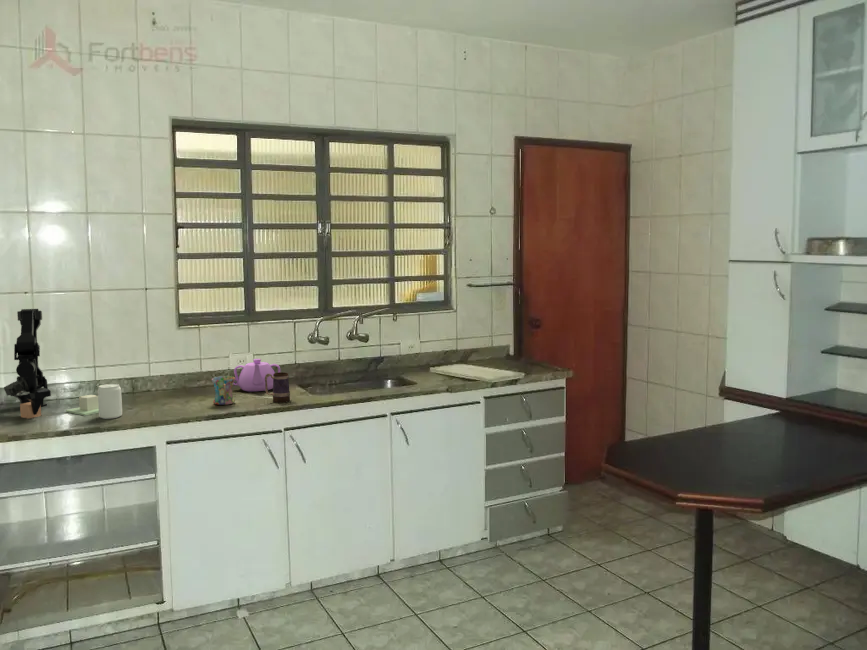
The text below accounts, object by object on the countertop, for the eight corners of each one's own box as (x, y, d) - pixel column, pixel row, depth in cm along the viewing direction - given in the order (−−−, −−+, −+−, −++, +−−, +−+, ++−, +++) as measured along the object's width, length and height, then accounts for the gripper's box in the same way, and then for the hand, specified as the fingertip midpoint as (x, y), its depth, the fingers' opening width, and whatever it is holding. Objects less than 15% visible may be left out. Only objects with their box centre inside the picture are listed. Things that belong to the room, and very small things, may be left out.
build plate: (66, 412, 285) (66, 410, 285) (94, 406, 295) (94, 404, 295) (85, 415, 279) (84, 413, 279) (113, 409, 289) (112, 407, 289)
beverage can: (113, 419, 272) (111, 388, 271) (94, 418, 274) (92, 387, 272) (126, 414, 280) (125, 384, 279) (108, 413, 282) (106, 383, 280)
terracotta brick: (20, 417, 277) (19, 404, 277) (33, 414, 282) (32, 401, 281) (28, 418, 275) (27, 405, 274) (41, 415, 279) (40, 403, 278)
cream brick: (87, 410, 283) (86, 398, 283) (79, 409, 286) (79, 396, 285) (99, 408, 288) (98, 395, 287) (91, 406, 290) (90, 394, 290)
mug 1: (211, 402, 302) (210, 377, 300) (234, 400, 305) (234, 375, 304) (213, 408, 290) (212, 382, 289) (237, 406, 294) (236, 380, 292)
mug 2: (288, 398, 308) (287, 370, 307) (292, 402, 301) (291, 373, 300) (263, 401, 304) (262, 372, 302) (267, 404, 297) (266, 375, 296)
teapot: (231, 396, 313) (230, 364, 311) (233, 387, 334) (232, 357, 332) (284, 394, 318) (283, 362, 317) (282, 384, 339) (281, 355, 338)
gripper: (-8, 374, 274) (-5, 415, 276) (20, 378, 265) (23, 421, 266) (22, 369, 284) (25, 409, 285) (50, 374, 274) (53, 415, 276)
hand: (30, 413), depth 278 cm, fingers closed on terracotta brick, 5 cm apart
